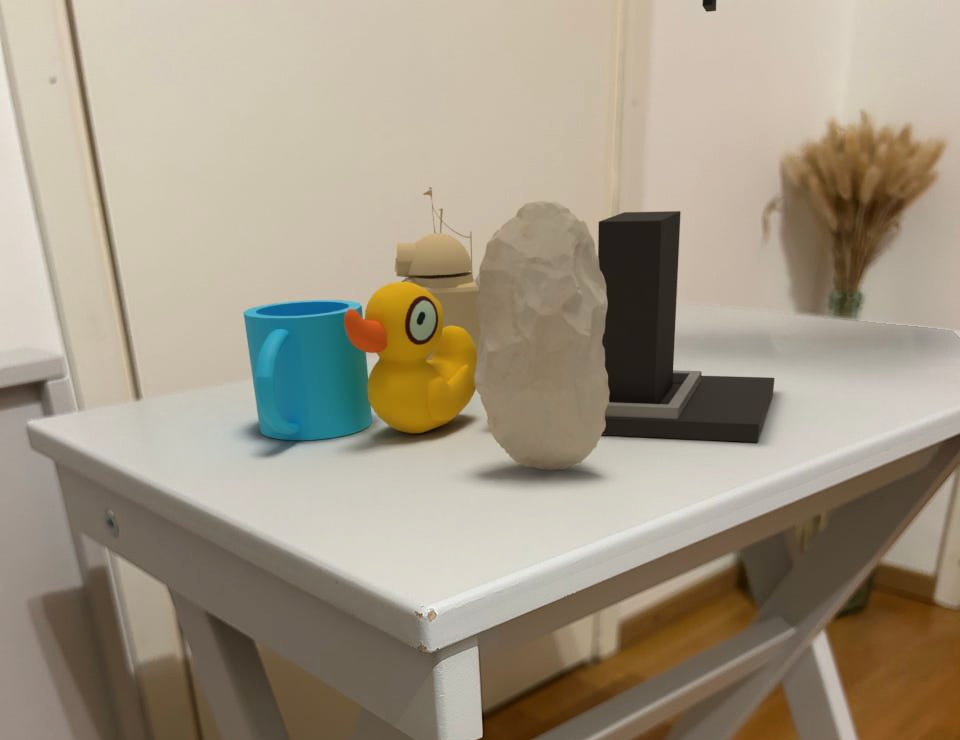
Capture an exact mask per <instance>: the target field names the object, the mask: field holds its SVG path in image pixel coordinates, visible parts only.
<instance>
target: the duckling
mask: <svg viewBox="0 0 960 740" xmlns="http://www.w3.org/2000/svg"><path fill="white" fill-rule="evenodd" d="M344 326H345V329H346V333H347V335H348V338H349V340H350V342H351V343H352V344H353V345H354V346H355V347H356V348H358V349H360V350H362V351H365V352H366V353H368V354H376V355H377V356H378V360H377V362H375V364H374V365H373V367H372V369H371V371H370V373H369V375H368V385H367V393H368V399H369V402H370V405H371V410H373V412H374V413H375V414H376V416H378V417H379V418H380V419H381V420H382V421H383V422H384V423H385V424H386V425H388V426H389V427H390V428H392V429H394V430H396V431H399V432H403V433H406V434H423V433H425V432H429V431H431V430H433V429H436V428H439V427H442V426H444V425H446V424H447V423H449V422H450V421H453V420H454V419H455V418H456V417H457V416H458V415H459V414H460V413H461V412H462V411H463V410H464V409H465V408H466V407H467V406H468V404H469V403H470V402H471V400H472V398H473V396H474V394H475V392H476V388H475V382H474V375H475V370H476V364H477V354H476V347H475V344H474V342H473V340H472V338H471V337H470V335H469V334H468V332H467V331H466V330H465V329H463V328H461V327H458V326H447V327H445V328H443V309H442V306H441V304H440V302H439V301H438V300H437V299H435V298H434V296H433V295H432V294H430V293H429V292H428V291H427V290H425V289H424V288H422V287H421V286H419V285H416V284H414V283H411V282H402V281H399V282H396V281H395V282H389V283H388V284H384V285H382V286H381V287H379V288H378V289H377V290H376V291H374V293H373V294H372V295H371V297H370V298H369V300H368V301H367V304H366V307H365V312H364V317H363V318H361V316H360V315H359V313H358V312H357V311H356V310H355V309H349V310H348V311H347V312H346V314H345V318H344ZM433 350H434V352H433ZM432 352H433V356H432V359H431V360H427V361H426V359H427V357H428V356H429V355H430V354H431V353H432Z"/></svg>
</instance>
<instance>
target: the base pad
mask: <svg viewBox="0 0 960 740" xmlns="http://www.w3.org/2000/svg"><path fill="white" fill-rule="evenodd" d="M774 388H775V377H764V376H731V375H730V376H728V375H727V376H726V375H702V371H701V370H678V369H677V370H674V369H673V385H672V387H671V388H670V390H669V391H668V392H667V394H666V395H665V397H664V398H663V399H662V401H661V402H660V404H640V403H613V402H609V403H608V405H607V408H606V410H605V422H606V427H605V430H604V431H603V432H602V435H601V436H617V437H618V436H620V437H638V438H659V439H661V438H662V439H678V440H679V439H682V440H699V441H701V440H702V441H721V442H722V441H724V442H741V443H742V442H743V443H758V442H759V438H760V434H761V433H762V429H763V426H764V423H765V420H766V417H767V414H768V410H769V407H770V404H771V402H772V401H771V400H772V398H773V394H774Z"/></svg>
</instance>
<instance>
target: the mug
mask: <svg viewBox="0 0 960 740" xmlns="http://www.w3.org/2000/svg"><path fill="white" fill-rule="evenodd" d="M349 309H355V310H356V311H357V312H358V313H359V315H360V316H361V318H363V319H364V316H363V315H364V314H363V305H362V304H361V303H360V302H356V301H353V300H342V299H309V300H295V301H285V302H276V303H275V302H274V303H270V304H263V305H257V306H254V307H250V308H248V309H246V310H244V311H243V319H244V326H245V332H246V333H245V334H246V340H247V347H248V355H249V361H250V368H251V376H252V383H253V390H254V396H255V404H256V405H255V406H256V411H257V419H258V425H259V426H258V427H259V432H260V434H262V435H263V436H265V437H268V438H272V439H276V440H286V441H316V440H327V439H333V438H338V437H345V436H348V435H352V434H355V433H359V432H361V431H364V430H365V429H367V428H369V427H370V426H371V424H372V423H373V415H372V407H371V405H370V402H369V399H368V393H367V385H368V379H369V371H368V370H369V369H368V360H367V352H365V351H362V350H360V349H358V348H356V347H355V346H354V345H353V344H352V343H351V342H350V340H349V338H348V335H347V333H346V329H345V326H344V318H345V314H346V312H347V311H348V310H349Z"/></svg>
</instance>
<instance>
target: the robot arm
mask: <svg viewBox="0 0 960 740" xmlns="http://www.w3.org/2000/svg"><path fill="white" fill-rule="evenodd" d="M702 8H703V9H704V11H705V12H707V13H708V12H716V11H717V0H702Z"/></svg>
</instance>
